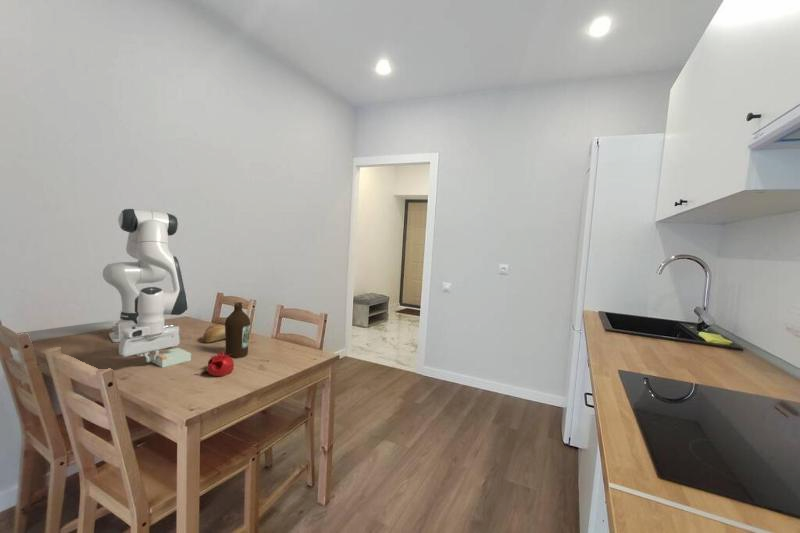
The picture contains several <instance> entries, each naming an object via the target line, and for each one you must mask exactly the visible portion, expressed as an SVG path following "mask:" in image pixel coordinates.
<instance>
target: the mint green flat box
mask: <svg viewBox="0 0 800 533" xmlns="http://www.w3.org/2000/svg"><path fill="white" fill-rule="evenodd" d="M153 353H154V352H153V351H150V352H149V357H150V356H152V355H153ZM190 361H192V353H191V352H189V351H187V350H185V349H182V348H180V347H175V348H172V349H171V348H169V349H166V350H163V351H159V353H158V354H157V356H156V361H151V363H154V365H155V364H156V365H157V366H158V367H161V368H166V367H170V366H174V365H177V364H181V363H185V362H190Z"/></svg>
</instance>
